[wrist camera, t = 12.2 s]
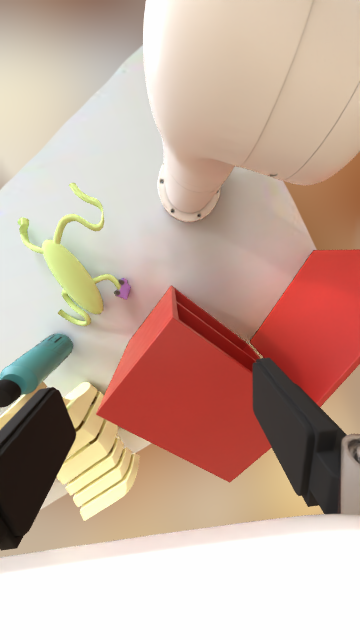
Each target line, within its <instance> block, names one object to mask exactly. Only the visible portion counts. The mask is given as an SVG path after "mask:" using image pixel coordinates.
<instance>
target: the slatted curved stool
mask: <svg viewBox="0 0 360 640" xmlns="http://www.w3.org/2000/svg"><path fill="white" fill-rule="evenodd" d="M46 387H47V386H46V384H45V383H44V382H42V383H41V384H40V385H39V386H38V387H37V388H36V389H35V390H34V391H33V392H31V393H29V394H25V395H23V396H22V397H21V398H20V399H19V400H18V401H17V402H16V403H14V404H13V405H12V406H11V407H10V408H9V409H8V410H7V411H6V412H4V413H3V414H2V415H1V416H0V430H1V428H2V427H3V426H4V425H5V424H6V423H7V422H8V421H9V420H10V419H11V418H12V417H13V416H14V415H15V414H16V413H17V412H18V411H19V410H20V409H21V408H22V407H23V406H24V404H25V403H26V402H27V401H28V400H29V399H30V398H31V397H32V396H33V395H34V394H35V393H36V392H37V391H38V390H39V389H44V388H46ZM97 391H98V390H97V389H96V388H95V387H94V386H92V385H91V384H90V383H89V382H83V383H81V384H80V385H79V386H78V387H77V388H75V389H74V390H73V391H72V392H70V393H69V394H68V395H67V396H65V397H64V398H63V397H62V398H63V401H64V403H65V406H66V408H67V411H68V413H69V416H70V418H71V421H72V423H73V426H74V428H75V430H76V439H75V441H74V443H73V445H72V447H71V449H70V451H69V453H68V455H67V457H66V459H67V458H68V457H69V456H71V455H72V454H73V455H72V456H71V457H69V458H68V459H67V460H66V461H64V463H63V465H62V467H61V469H60V471H59V473H58V475H57V477H56V478H57V479H58V480H59V481H60V482H61V483H62V484H63V485H64V484H66V483H67V482H68V481H70V480H71V479H73V478H74V477H75V478H74V479H73V480H71V481H70V482H68V484H67V487H66V489H67V491H68V492H69V494H70V495H72V494H74V493H75V492H76V493H75V495H74V498H73V500H74V502H75V503H76V505H77V507H79V506H80V505H82V507H81V510H80V513H81V515H82V517H83V520H84V521H85V520H87V519H88V518H90V517H91V516H93V515H95V514H96V513H98V512H99V511H101V510H103V509H104V508H106V507H107V506H109V505H111V504H112V503H114V502H115V501H117V500H118V499H120V498H122V497H123V496H124V495H126V494H127V492H128V491H129V490H130V489H131V487H132V485H133V483H134V481H135V479H136V476H137V472H138V466H139V459H140V455H139V454H136V453H134V454H132V455H131V453H132V451H131V450H129V449H128V448H127V447H126V448H125V449H123V446H124V444H123V442H122V441H121V439H120V437H118V438H117V439H115V438H116V435H117V431H118V426H117V425H115V424H113V423H111V422H109V421H107V420H105V419H104V418H102V417H100V416H98V415H96V412H97V410H98V408H99V406H100V404H101V401H102V399H103V397H104V395H103V394H102V393H101V392H97ZM81 472H82V473H81ZM80 473H81V474H80ZM77 475H78V476H77ZM76 476H77V477H76ZM78 490H79V491H78Z"/></svg>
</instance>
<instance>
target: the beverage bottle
mask: <svg viewBox="0 0 360 640" xmlns="http://www.w3.org/2000/svg"><path fill="white" fill-rule="evenodd" d="M72 349H73V344H72V341H71V340H70V339H69V338H68V337H67V336H65V335H63V334H53V335H50V336H49V337H48V338H47V339H46V338H45V340H42V342H41V343H40V344H38V345H36V346H34V348H32V349H31V350H30V351H28V352H27V353H25V354H24V355H23V356H21V357H19V359H17V360H16V361H15V362H13V363H12V364H10V365H9V366H7V367H6V368H4V369H3V370H2V372H1V374H0V407H6V406H8V405H10V404H11V403H13V402H14V401H15V400H17V399H18V398H19V397H20V395H25V394H29V393H31V392H33V391H34V390H35V389H36V388H37V387H38V386H39V385H40V384H41V383H42V382H43V381H44V380H45V379H46V378H47V376H48V375H49V374H50V373H51V372H52V371H53V370H54V371H55V369H56V368H57V367H58V366H59V365H60V363H61V362H62V361H63V360H64V359H65V358H66V357H68V355H69V354H70V353H72Z"/></svg>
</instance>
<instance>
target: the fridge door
mask: <svg viewBox="0 0 360 640" xmlns="http://www.w3.org/2000/svg"><path fill="white" fill-rule="evenodd" d="M250 343H251V344H252V345H253V346H254V347H255V349H256V350H257V351H258V352H259V353H260V354H261V355H262V356H263V357H264V358H270V359H271V360H272V361H273V362H274V363H275V364H276V365H277V366H278V367H279V368H280V369H281V370H282V371H283V372H284V373H285V374H286V375H287V376H288V377H289V378H290V379H291V380H292V382H293V383H295V384H297V385H298V386H300V387H301V388H302V389H303V390H304V392H305V393H306V394H307V395H308V396H309V397H310V398H311V399H312V400H313V401H314V402H315V403H316V404H317V405H318V406H319V407H321V406H322V405H323V404H324V402H325V401H326V400H327V399H328V398H329V397H330V396H331V395H332V394H333V393H334V392H335V390H336V389H337V388H338V387H339V386H340V385H341V384H342V383H343V382H344V381H345V380H346V378H347V377H348V376H349V375H350V374H351V373H352V372H353V371H354V370H355V369H356V367H357V366H358V365H359V364H360V250H313V252H312V253H311V255H310V256H309V258H308V259H307V260H306V262H305V263H304V265H303V266H302V268H301V269H300V270H299V272H298V273H297V275H296V276H295V278H294V279H293V281H292V282H291V283H290V285H289V286H288V288H287V289H286V291H285V292H284V293H283V295H282V296H281V298H280V299H279V301H278V302H277V304H276V305H275V306H274V308H273V309H272V311H271V312H270V314H269V315H268V316H267V318H266V319H265V321H264V322H263V324H262V325H261V327H260V328H259V329H258V331H257V332H256V334H255V335H254V337H253V338H252V339H251V341H250Z"/></svg>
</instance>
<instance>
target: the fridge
mask: <svg viewBox="0 0 360 640" xmlns="http://www.w3.org/2000/svg"><path fill="white" fill-rule="evenodd" d="M257 359H261V358H260V357H259V356H258V355H257V354H256V352H255V351H254V350H253V349H252V348H251V347H250V345H249V344H247V343H246V342H245V341H243V340H242V339H241V338H240V337H238V336H237V335H236V334H234V333H233V332H232V331H230V330H229V329H228V328H226V327H225V326H224V325H222V324H221V323H220V322H218V321H217V320H216V319H215V318H213V317H212V316H211V315H209V314H208V313H207V312H205V311H204V310H203V309H201V308H200V307H199V306H197V305H196V304H195V303H194V302H192V301H191V300H190V299H188V298H187V297H186V296H184V295H183V294H182V293H180V292H179V291H178V290H176V289H175V288H174V287H173V286H170V288H169V289H168V290H167V292H166V293H165V294H164V296H163V297H162V298H161V300H160V301H159V302H158V304H157V305H156V306H155V308H154V309H153V310H152V312H151V313H150V314H149V316H148V317H147V318H146V320H145V321H144V322H143V324H142V325H141V326H140V328H139V329H138V330H137V332H136V333H135V334H134V335H133V337H132V338H131V339H130V341H129V343H128V345H127V347H126V349H125V351H124V354H123V356H122V358H121V360H120V362H119V364H118V367H117V369H116V371H115V373H114V375H113V378H112V380H111V382H110V384H109V386H108V388H107V391H106V393H105V395H104V397H103V399H102V401H101V404H100V406H99V408H98V410H97V412H96V415H98V416H100V417H102V418H104V419H105V420H107V421H109V422H111V423H113V424H115V425H117V426H119V427H121V428H123V429H125V430H127V431H129V432H131V433H133V434H135V435H137V436H139V437H141V438H143V439H145V440H147V441H149V442H151V443H153V444H155V445H157V446H159V447H161V448H163V449H165V450H167V451H169V452H171V453H173V454H175V455H177V456H179V457H181V458H183V459H185V460H187V461H189V462H191V463H193V464H194V465H196V466H198V467H200V468H202V469H204V470H206V471H208V472H210V473H212V474H214V475H216V476H218V477H220V478H222V479H224V480H226V481H228V482H231V481H232V480H233V479H235V478H236V477H237V476H238V475H239V474H241V473H242V472H243V471H244V470H245V469H247V468H248V467H249V466H250V465H251V464H252V463H254V462H255V461H256V460H257V459H258V458H260V457H261V456H262V455H263V454H264V453H266V452H267V451H268V450H269V449H270V448H272V447H271V445H270V443H269V441H268V439H267V437H266V435H265V433H264V432H263V430H262V428H261V426H260V424H259V422H258V420H257V418H256V416H255V414H254V411H253V363H255V362H256V360H257Z"/></svg>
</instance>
